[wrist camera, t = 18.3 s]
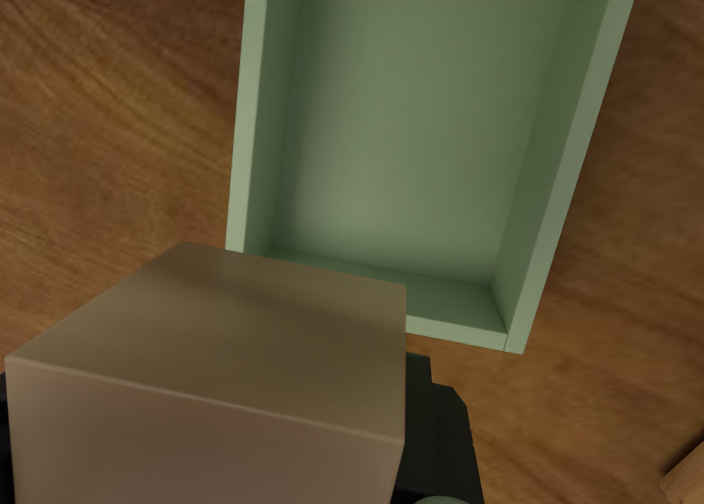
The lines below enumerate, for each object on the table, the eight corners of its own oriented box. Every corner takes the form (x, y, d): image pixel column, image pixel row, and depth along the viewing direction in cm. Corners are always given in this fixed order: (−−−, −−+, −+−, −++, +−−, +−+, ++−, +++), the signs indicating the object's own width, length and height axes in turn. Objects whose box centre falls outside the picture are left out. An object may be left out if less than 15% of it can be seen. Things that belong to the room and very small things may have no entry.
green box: (497, 298, 25) (523, 355, 20) (259, 253, 26) (220, 296, 20) (593, -43, 20) (663, -94, 15) (296, -89, 21) (256, -154, 15)
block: (170, 426, 11) (22, 634, 7) (181, 239, 10) (0, 355, 5) (366, 468, 11) (338, 712, 7) (406, 283, 9) (405, 442, 5)
